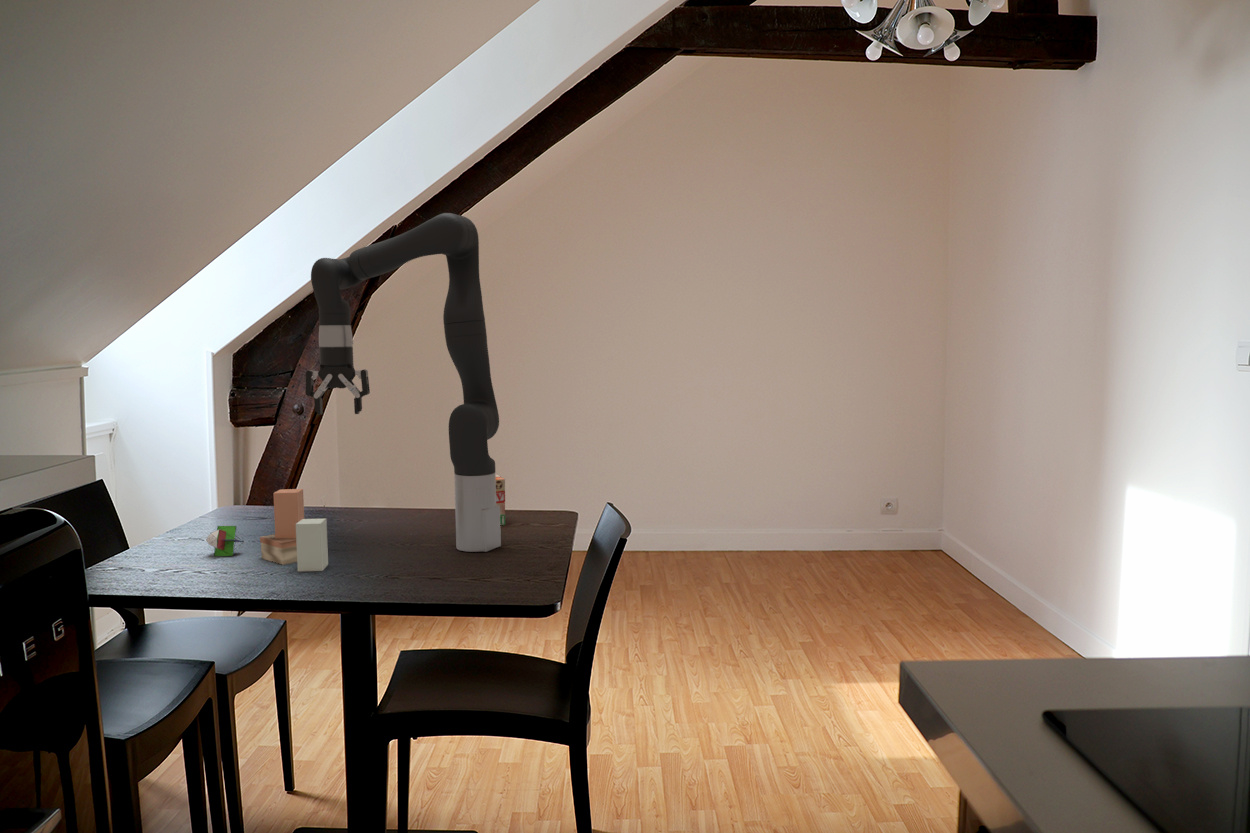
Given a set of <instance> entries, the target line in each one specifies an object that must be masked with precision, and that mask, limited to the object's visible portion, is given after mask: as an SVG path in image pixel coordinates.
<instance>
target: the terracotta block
mask: <svg viewBox="0 0 1250 833" xmlns="http://www.w3.org/2000/svg"><path fill="white" fill-rule="evenodd" d="M272 495H273V507H274V508H273V509H274V510H273V512H274V514H273V515H274V534H275V539H284V538H296V523H298V522H299V521H300V520H302V519H305V504H304V503H305V502H304V499H305V498H304V489H303V488H292V489H291V488H289V489H288V488H287V489H285V488H284V489H281V488H280V489H278V490H276V491H274V492H273V494H272Z"/></svg>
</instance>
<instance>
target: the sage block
mask: <svg viewBox="0 0 1250 833" xmlns="http://www.w3.org/2000/svg"><path fill="white" fill-rule="evenodd" d="M327 522H328V521H327V518H304V519H302V520H300V521H299V522H298V523H296V544H297V562H296V564H297V572H323V571H324V570H325V569H326V568H327V567H328V566H329V552H328V548H329V547H328V524H327Z"/></svg>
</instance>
